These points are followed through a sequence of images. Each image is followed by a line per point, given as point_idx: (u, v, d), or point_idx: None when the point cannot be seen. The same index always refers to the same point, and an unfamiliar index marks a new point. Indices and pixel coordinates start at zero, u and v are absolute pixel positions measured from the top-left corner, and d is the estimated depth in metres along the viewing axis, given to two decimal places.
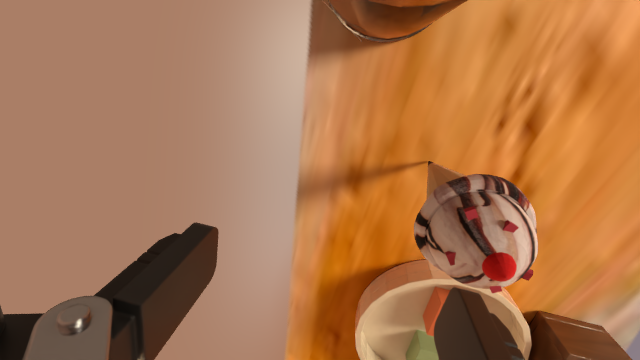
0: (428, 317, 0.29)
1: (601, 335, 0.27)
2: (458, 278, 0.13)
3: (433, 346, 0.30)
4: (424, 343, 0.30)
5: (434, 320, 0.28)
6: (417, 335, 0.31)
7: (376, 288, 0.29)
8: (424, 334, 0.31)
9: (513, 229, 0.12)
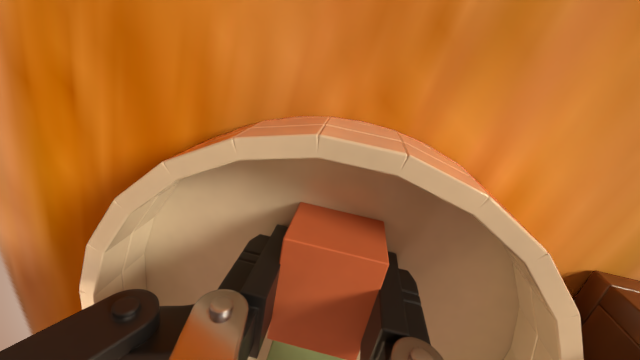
0: None
1: None
2: None
3: None
4: None
5: (277, 294, 0.09)
6: (273, 340, 0.12)
7: None
8: None
9: None
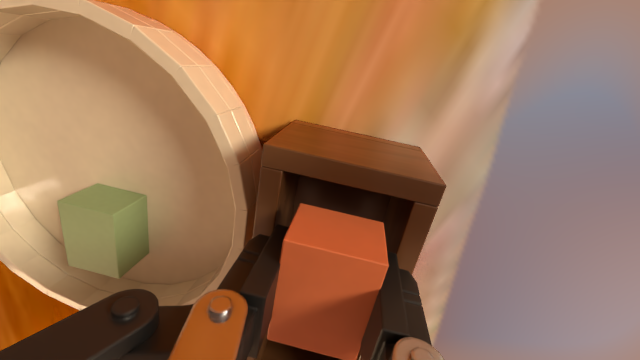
0: None
1: (401, 150, 0.12)
2: None
3: (96, 201, 0.15)
4: (81, 196, 0.15)
5: (277, 295, 0.09)
6: (85, 188, 0.16)
7: None
8: (104, 188, 0.16)
9: None
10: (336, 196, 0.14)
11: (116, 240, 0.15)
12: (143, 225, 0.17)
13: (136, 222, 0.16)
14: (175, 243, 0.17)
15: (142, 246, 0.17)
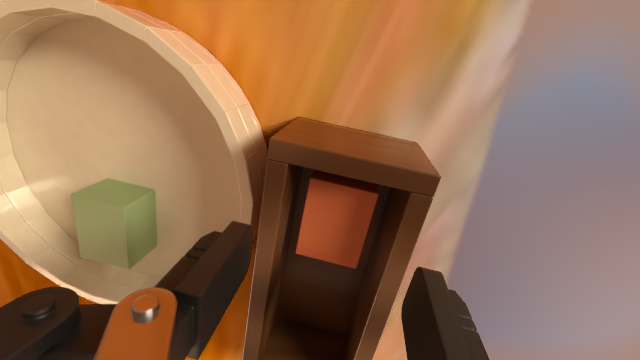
0: None
1: (399, 144, 0.13)
2: None
3: (107, 194, 0.16)
4: (93, 190, 0.16)
5: (304, 219, 0.13)
6: (96, 183, 0.16)
7: None
8: (114, 183, 0.17)
9: None
10: None
11: (127, 231, 0.15)
12: (152, 218, 0.17)
13: (145, 215, 0.17)
14: (182, 236, 0.18)
15: (150, 239, 0.18)
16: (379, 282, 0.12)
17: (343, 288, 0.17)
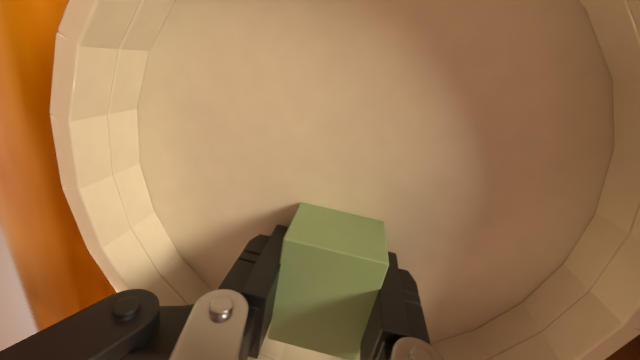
0: None
1: None
2: None
3: (337, 236, 0.09)
4: (308, 228, 0.09)
5: None
6: (296, 212, 0.10)
7: None
8: (320, 211, 0.10)
9: None
10: None
11: None
12: None
13: None
14: None
15: None
16: None
17: None
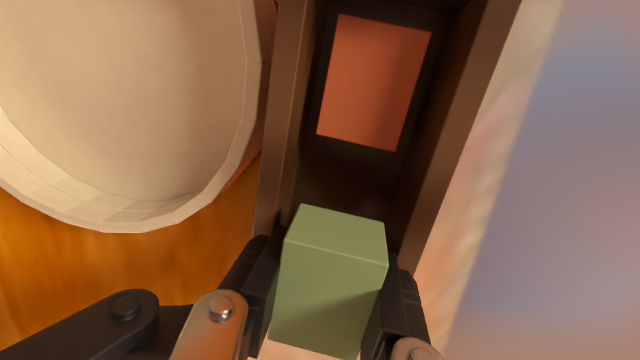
0: None
1: None
2: None
3: (337, 237, 0.09)
4: (308, 229, 0.09)
5: (328, 80, 0.10)
6: (296, 213, 0.10)
7: None
8: (320, 213, 0.10)
9: None
10: None
11: None
12: None
13: None
14: (173, 145, 0.15)
15: None
16: (433, 148, 0.09)
17: (369, 204, 0.14)
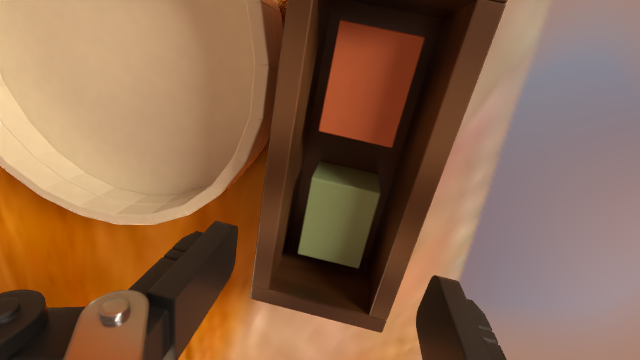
0: None
1: None
2: None
3: (346, 179, 0.13)
4: (326, 174, 0.13)
5: (330, 81, 0.11)
6: (317, 166, 0.14)
7: None
8: (334, 166, 0.14)
9: None
10: None
11: None
12: None
13: None
14: (183, 142, 0.16)
15: None
16: (426, 143, 0.10)
17: None
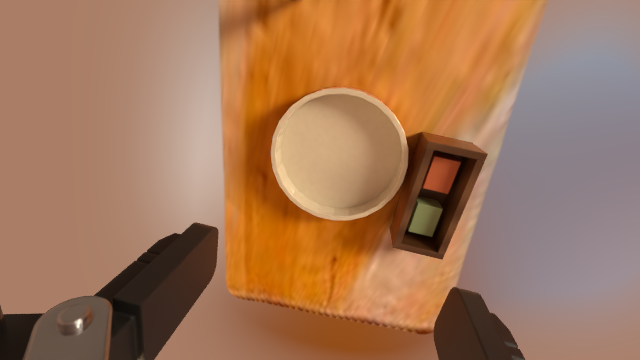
0: None
1: (466, 143, 0.33)
2: None
3: (429, 203, 0.36)
4: (421, 201, 0.36)
5: (429, 173, 0.34)
6: None
7: None
8: (421, 198, 0.37)
9: None
10: None
11: (438, 219, 0.35)
12: None
13: None
14: (356, 186, 0.38)
15: None
16: (461, 195, 0.32)
17: None
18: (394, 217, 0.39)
